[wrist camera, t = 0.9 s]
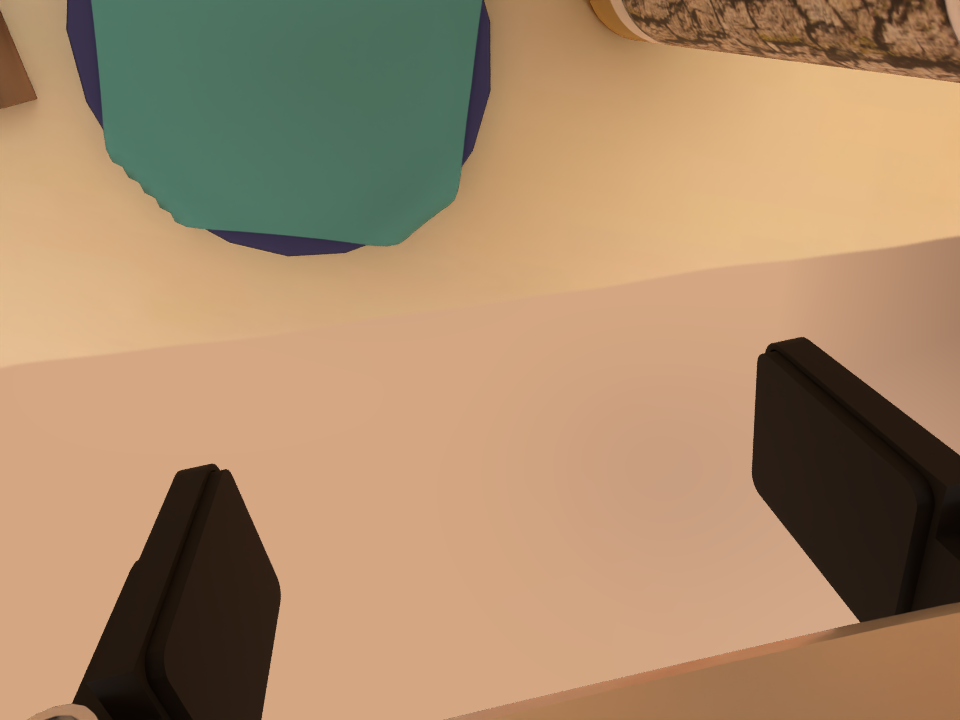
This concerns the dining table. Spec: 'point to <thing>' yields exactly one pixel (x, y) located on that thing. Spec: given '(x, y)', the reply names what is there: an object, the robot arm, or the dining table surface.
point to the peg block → (12, 72)
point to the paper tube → (804, 31)
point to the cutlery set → (288, 111)
